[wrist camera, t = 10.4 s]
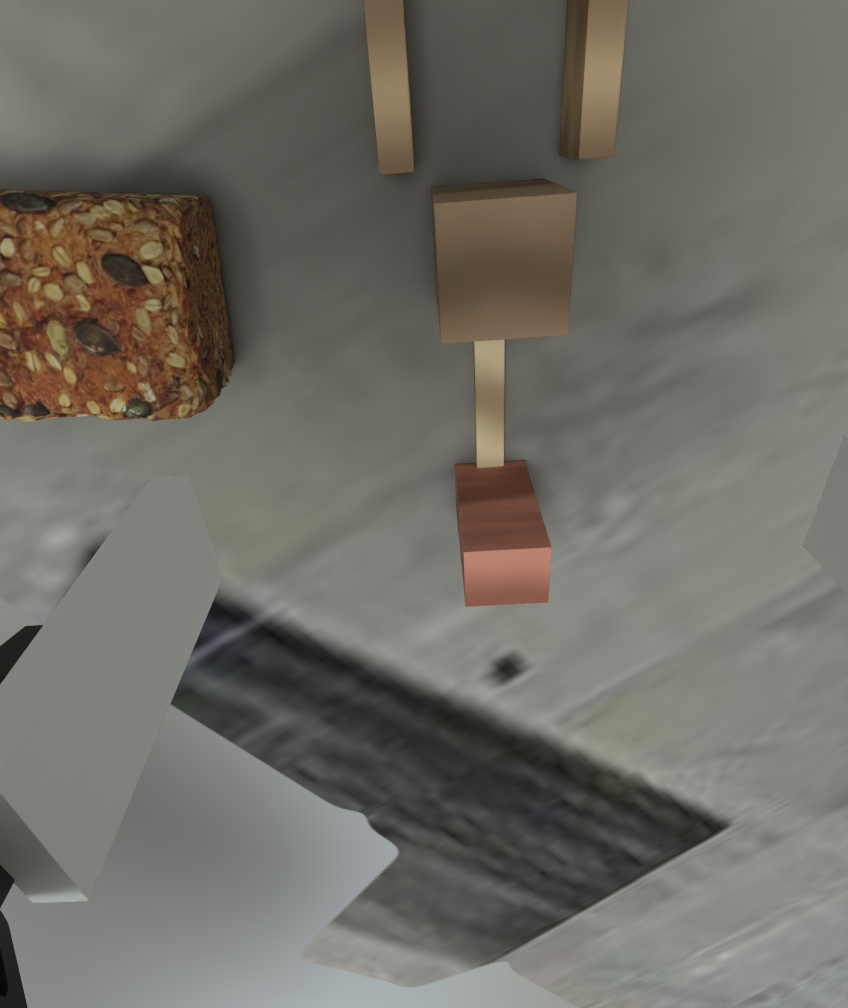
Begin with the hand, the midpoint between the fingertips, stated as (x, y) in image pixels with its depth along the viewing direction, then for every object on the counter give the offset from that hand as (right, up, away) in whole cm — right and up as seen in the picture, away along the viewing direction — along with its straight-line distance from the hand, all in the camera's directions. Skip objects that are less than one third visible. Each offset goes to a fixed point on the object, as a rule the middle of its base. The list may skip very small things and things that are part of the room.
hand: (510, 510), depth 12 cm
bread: (-22, +13, +22) cm, 34 cm away
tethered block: (+2, +8, +25) cm, 26 cm away
